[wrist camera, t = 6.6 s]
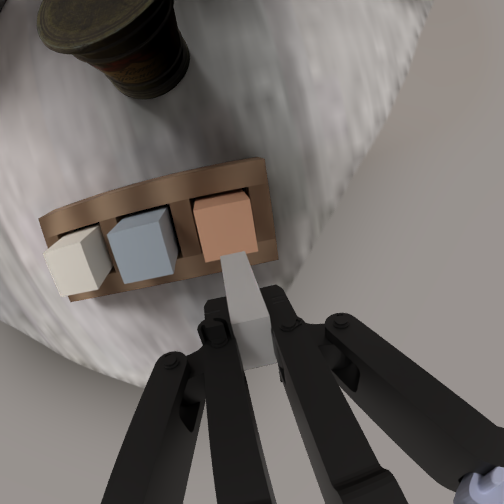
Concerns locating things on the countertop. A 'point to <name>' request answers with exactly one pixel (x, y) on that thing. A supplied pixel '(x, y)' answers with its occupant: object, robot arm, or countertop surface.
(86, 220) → the key panel
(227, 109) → the countertop surface
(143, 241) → the slate key
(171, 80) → the container
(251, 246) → the terracotta key
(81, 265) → the ivory key
